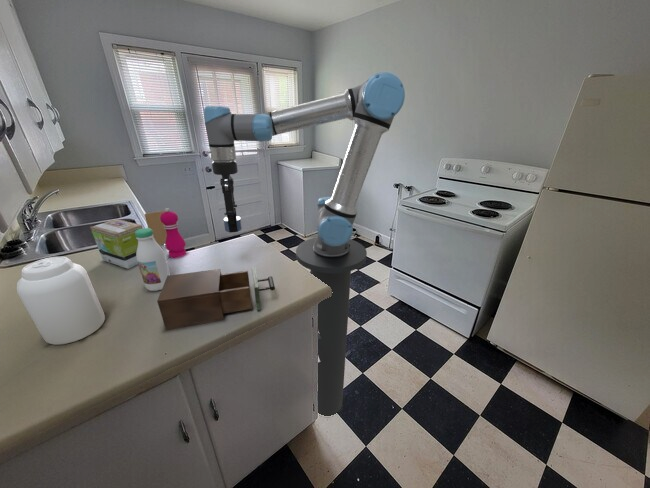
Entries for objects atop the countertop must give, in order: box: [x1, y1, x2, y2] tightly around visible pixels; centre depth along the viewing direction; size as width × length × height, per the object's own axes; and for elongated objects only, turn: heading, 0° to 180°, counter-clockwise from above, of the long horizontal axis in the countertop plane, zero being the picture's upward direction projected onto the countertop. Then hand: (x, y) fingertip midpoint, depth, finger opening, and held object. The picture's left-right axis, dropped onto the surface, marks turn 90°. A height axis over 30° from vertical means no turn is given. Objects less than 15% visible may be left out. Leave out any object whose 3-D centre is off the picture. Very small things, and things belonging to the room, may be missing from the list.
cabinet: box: [156, 268, 225, 331], centre depth 77 cm, size 15×13×10 cm
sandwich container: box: [144, 210, 167, 246], centre depth 123 cm, size 9×15×15 cm, turn 36°
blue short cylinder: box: [223, 215, 242, 233], centre depth 95 cm, size 6×6×4 cm
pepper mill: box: [160, 207, 187, 259], centre depth 107 cm, size 7×7×20 cm
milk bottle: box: [135, 227, 171, 292], centre depth 87 cm, size 8×8×20 cm
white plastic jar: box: [16, 255, 106, 346], centre depth 68 cm, size 12×12×20 cm
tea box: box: [89, 218, 143, 270], centre depth 103 cm, size 15×10×15 cm, turn 67°
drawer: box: [219, 267, 276, 315], centre depth 81 cm, size 18×11×8 cm, turn 107°
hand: (233, 228), depth 95 cm, fingers closed on blue short cylinder, 6 cm apart
